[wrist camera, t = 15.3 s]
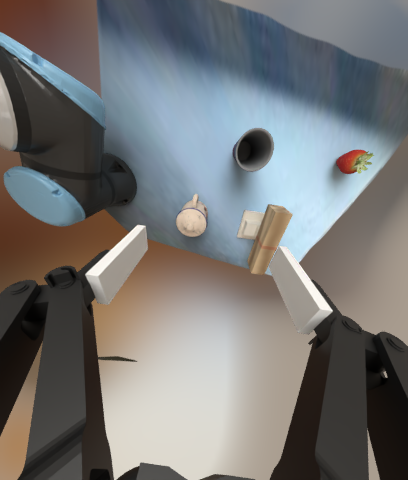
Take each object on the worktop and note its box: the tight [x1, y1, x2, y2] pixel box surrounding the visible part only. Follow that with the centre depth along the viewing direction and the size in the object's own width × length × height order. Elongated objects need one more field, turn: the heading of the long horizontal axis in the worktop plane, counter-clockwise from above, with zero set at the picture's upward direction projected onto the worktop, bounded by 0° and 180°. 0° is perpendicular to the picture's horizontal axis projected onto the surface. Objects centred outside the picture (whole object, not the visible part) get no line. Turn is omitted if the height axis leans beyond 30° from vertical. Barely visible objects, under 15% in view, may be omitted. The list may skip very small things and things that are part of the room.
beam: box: [248, 204, 292, 275], centre depth 42 cm, size 4×20×6 cm, turn 173°
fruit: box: [336, 150, 374, 174], centre depth 35 cm, size 5×5×8 cm
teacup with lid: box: [176, 194, 208, 237], centre depth 44 cm, size 12×9×12 cm
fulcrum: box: [237, 210, 265, 240], centre depth 47 cm, size 12×10×7 cm
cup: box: [233, 128, 274, 172], centre depth 33 cm, size 7×7×15 cm
